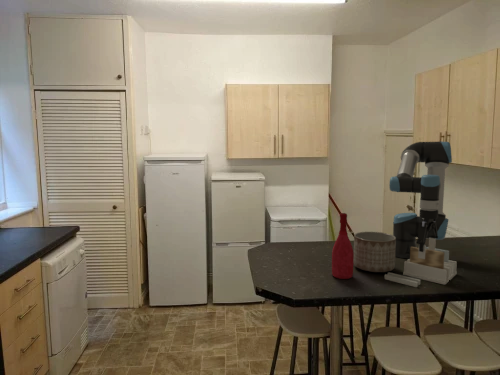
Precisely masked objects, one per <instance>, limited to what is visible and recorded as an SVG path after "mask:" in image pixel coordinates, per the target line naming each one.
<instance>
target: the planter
mask: <svg viewBox="0 0 500 375" xmlns="http://www.w3.org/2000/svg"><path fill="white" fill-rule="evenodd" d="M395 248H396V237H395V236H393V234H390V233H386V232H381V231H380V232H379V231H360V232H359V231H358V232H356V233H354V236H353V252H354V264H353V266H354V267H356V268H358V269H359V270H363V271H366V272H372V273H386V272H387V273H389V272H391V271H393V270H395V268H396V266H395V265H396V257H395Z"/></svg>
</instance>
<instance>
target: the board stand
mask: <svg viewBox="0 0 500 375" xmlns="http://www.w3.org/2000/svg"><path fill="white" fill-rule="evenodd" d="M384 280H387V281H390V282H395V283H399V284H401V285H402V284H403V285H405V286H410V287H414V288H418V286H421V279H419V278H415V277H410V276H406V275H403V274H397V273H393V272H391V271H388V272H387V274H386V273H385V274H384Z"/></svg>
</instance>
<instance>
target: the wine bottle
mask: <svg viewBox="0 0 500 375" xmlns="http://www.w3.org/2000/svg"><path fill="white" fill-rule="evenodd" d="M347 223H348V214H347V213H345V212H342V213H341V212H340V213H339V224H340V228H339V232H338V234H337V235H338V236H337V237H336V240H335V241H334V245H333V247H332V250H331V275H332V276H333V277H334V278H336V279H340V280H348V279H351V278H353V275H354V247H353V245H352V243H351V240H350V237H349V235H348V234H349V233H348V231H347Z"/></svg>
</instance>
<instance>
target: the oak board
mask: <svg viewBox="0 0 500 375" xmlns="http://www.w3.org/2000/svg"><path fill="white" fill-rule="evenodd" d="M418 249H419V247H418V246H417V247H411V248H410V258H409V259H410V262H412V263H417V264H421V265H426V266H431V267H435V268H440V269H444V252H440V251H434V250H429V249H426V251H425V259H421V258H418Z"/></svg>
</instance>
